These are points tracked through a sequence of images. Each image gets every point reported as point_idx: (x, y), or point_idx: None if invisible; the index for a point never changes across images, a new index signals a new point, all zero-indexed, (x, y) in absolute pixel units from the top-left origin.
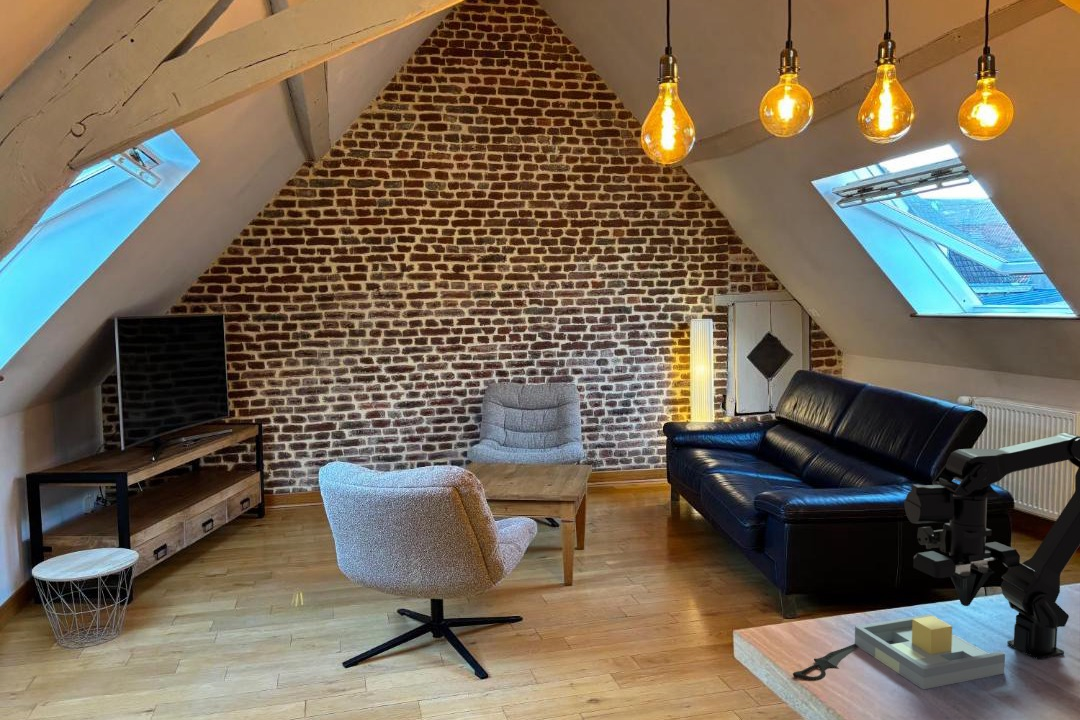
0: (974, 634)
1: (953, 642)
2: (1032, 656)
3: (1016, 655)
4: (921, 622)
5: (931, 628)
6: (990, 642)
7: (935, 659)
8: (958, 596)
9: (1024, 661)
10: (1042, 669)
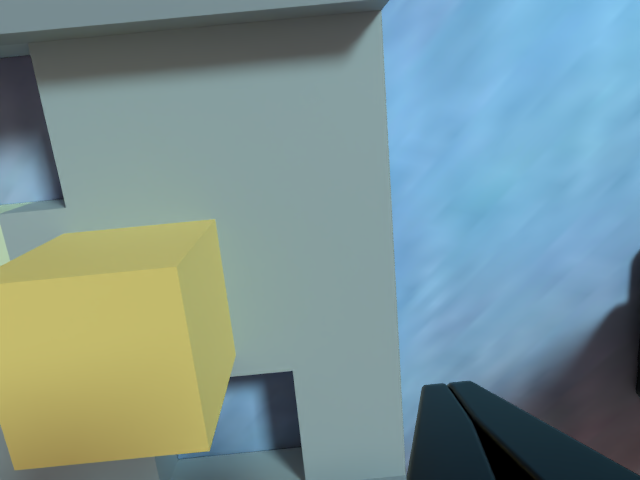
0: (593, 92)
1: (314, 278)
2: (638, 381)
3: (589, 339)
4: (4, 354)
5: (27, 452)
6: (591, 198)
7: None
8: (416, 426)
9: (572, 391)
10: None
